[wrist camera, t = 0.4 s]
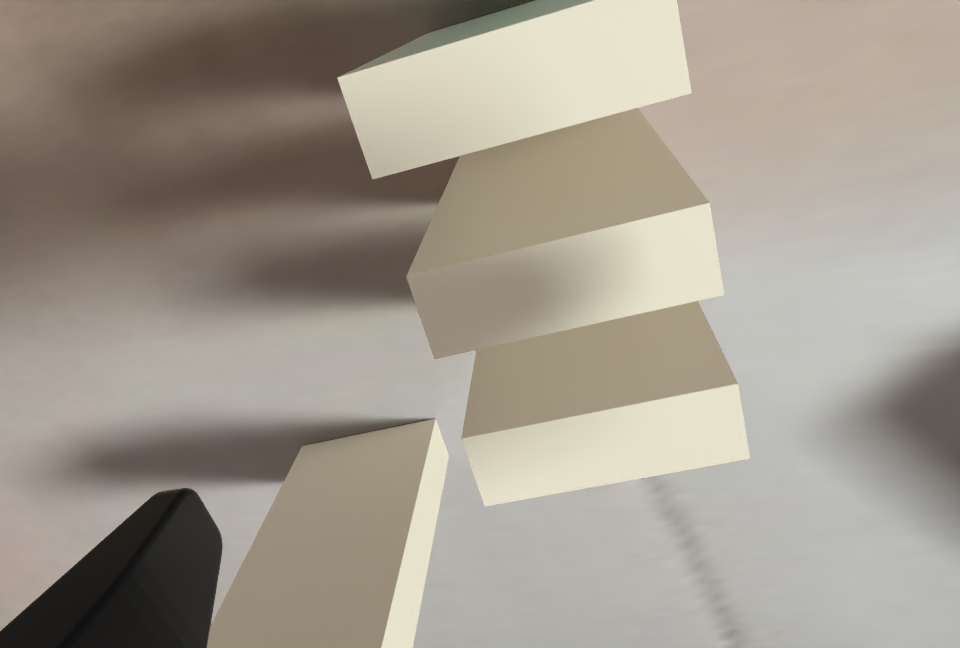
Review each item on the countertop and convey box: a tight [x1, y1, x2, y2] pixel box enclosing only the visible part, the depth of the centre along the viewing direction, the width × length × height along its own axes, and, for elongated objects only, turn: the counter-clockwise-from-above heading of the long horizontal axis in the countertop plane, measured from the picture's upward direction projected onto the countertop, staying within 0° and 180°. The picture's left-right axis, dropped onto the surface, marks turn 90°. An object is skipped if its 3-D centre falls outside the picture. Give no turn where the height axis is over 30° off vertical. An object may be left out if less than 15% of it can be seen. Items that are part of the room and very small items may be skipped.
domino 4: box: [461, 301, 750, 506], centre depth 18 cm, size 2×5×10 cm, turn 106°
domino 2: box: [337, 0, 691, 180], centre depth 15 cm, size 2×5×10 cm, turn 106°
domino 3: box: [406, 108, 724, 359], centre depth 17 cm, size 2×5×10 cm, turn 106°
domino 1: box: [207, 419, 449, 648], centre depth 22 cm, size 2×5×10 cm, turn 106°
